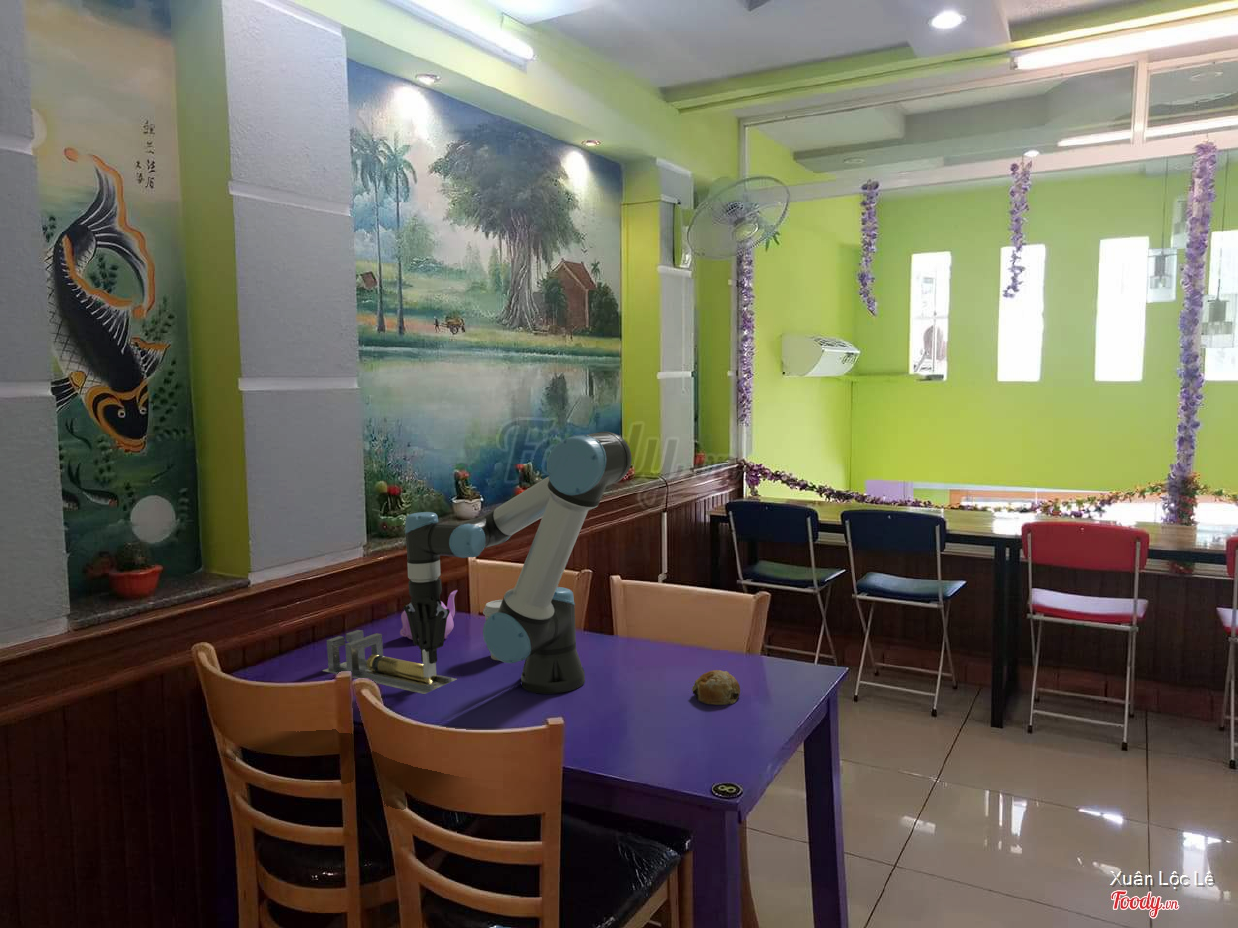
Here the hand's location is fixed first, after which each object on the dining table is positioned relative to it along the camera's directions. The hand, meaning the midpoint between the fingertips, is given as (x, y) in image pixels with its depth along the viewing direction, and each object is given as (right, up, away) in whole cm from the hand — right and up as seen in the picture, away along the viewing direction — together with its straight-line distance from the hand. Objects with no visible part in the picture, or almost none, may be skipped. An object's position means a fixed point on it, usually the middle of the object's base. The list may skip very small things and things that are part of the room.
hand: (430, 675), depth 205 cm
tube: (-9, -2, +6) cm, 11 cm away
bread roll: (+67, -2, -13) cm, 68 cm away
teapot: (-9, 0, +41) cm, 42 cm away
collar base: (-12, -3, +8) cm, 15 cm away
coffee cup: (+15, -1, +19) cm, 24 cm away
